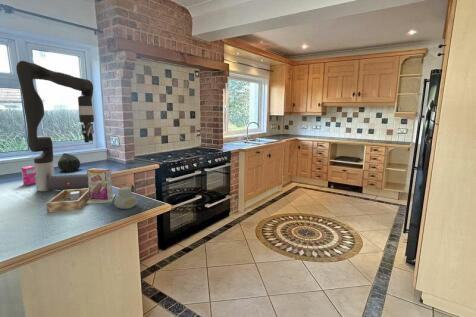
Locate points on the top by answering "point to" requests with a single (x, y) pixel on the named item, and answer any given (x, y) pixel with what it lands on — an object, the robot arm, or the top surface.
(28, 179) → the supplement box
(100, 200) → the plate
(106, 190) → the candy bar box
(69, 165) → the squash
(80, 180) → the bluetooth speaker
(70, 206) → the oak bin
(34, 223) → the top surface
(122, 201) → the air freshener
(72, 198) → the light grey cube
